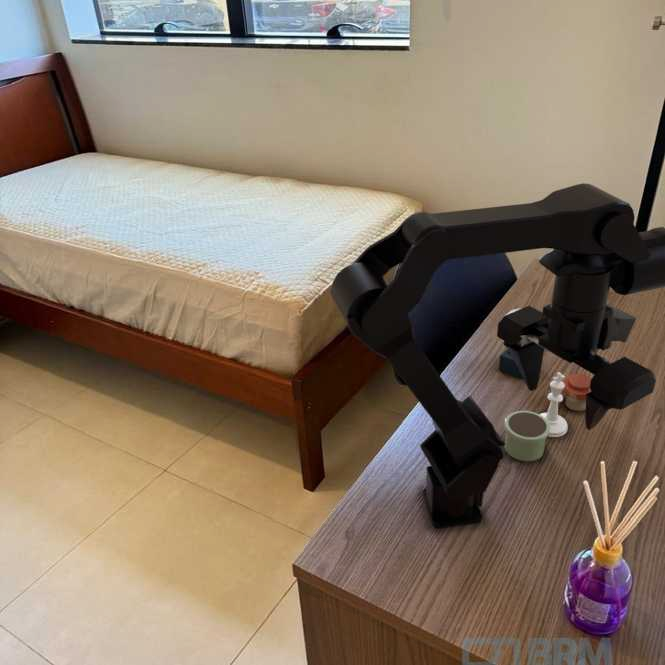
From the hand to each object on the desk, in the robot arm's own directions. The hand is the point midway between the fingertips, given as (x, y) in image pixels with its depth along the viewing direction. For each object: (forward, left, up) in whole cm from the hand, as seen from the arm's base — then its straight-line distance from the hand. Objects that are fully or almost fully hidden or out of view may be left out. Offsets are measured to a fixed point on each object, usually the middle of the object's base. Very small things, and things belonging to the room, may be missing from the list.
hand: (560, 408), depth 76 cm
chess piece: (+5, +11, -13) cm, 18 cm away
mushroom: (+11, +15, -13) cm, 22 cm away
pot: (-1, +7, -13) cm, 15 cm away
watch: (+6, +26, -13) cm, 30 cm away
